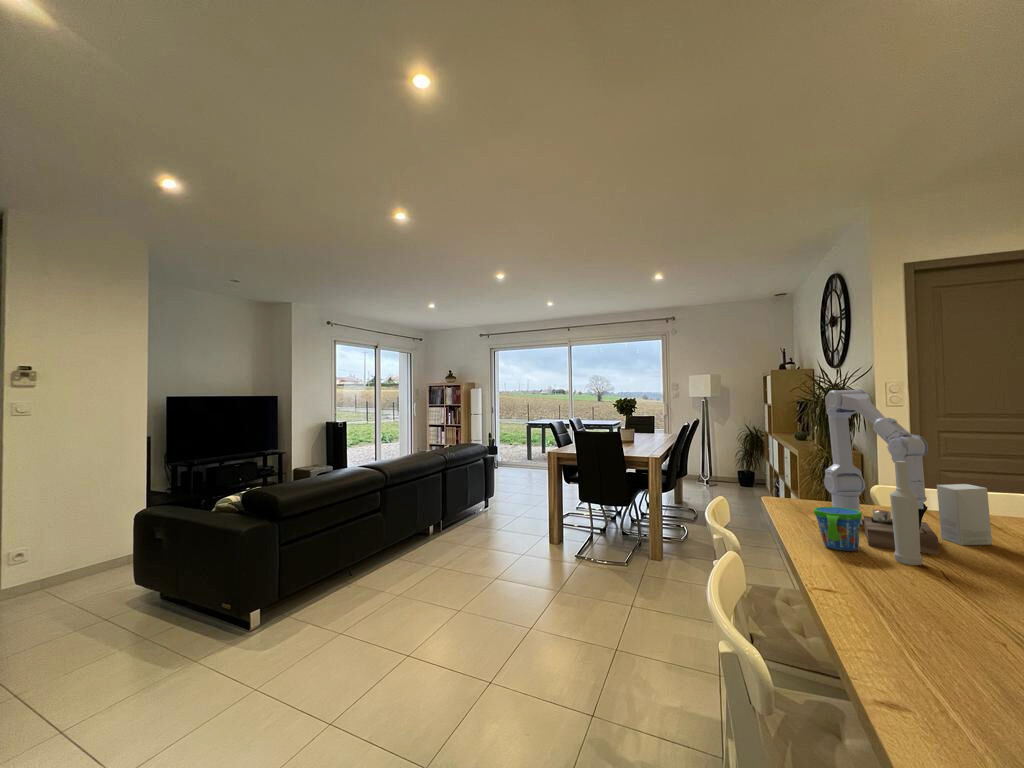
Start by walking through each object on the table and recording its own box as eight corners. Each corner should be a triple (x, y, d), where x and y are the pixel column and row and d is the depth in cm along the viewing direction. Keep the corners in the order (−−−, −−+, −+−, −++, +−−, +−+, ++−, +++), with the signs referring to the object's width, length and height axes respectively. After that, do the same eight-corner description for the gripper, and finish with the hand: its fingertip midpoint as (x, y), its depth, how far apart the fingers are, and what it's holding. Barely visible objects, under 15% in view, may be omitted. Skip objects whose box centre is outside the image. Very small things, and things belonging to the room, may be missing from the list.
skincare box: (971, 538, 121) (966, 483, 121) (995, 546, 114) (990, 488, 115) (939, 538, 121) (934, 483, 122) (961, 546, 115) (956, 488, 116)
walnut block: (864, 530, 130) (863, 515, 130) (927, 538, 122) (926, 522, 122) (868, 545, 117) (867, 529, 117) (939, 555, 109) (937, 537, 109)
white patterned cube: (873, 523, 127) (872, 508, 127) (890, 525, 124) (889, 510, 124) (874, 527, 123) (873, 511, 124) (892, 529, 121) (891, 513, 121)
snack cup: (828, 538, 125) (824, 503, 126) (873, 545, 116) (869, 508, 117) (808, 549, 115) (804, 511, 116) (855, 558, 107) (851, 517, 108)
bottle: (928, 566, 102) (920, 463, 103) (903, 565, 103) (896, 463, 104) (913, 558, 107) (905, 460, 108) (889, 557, 108) (882, 460, 109)
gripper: (885, 474, 124) (888, 521, 124) (896, 483, 112) (900, 534, 112) (917, 476, 121) (921, 524, 120) (932, 485, 108) (937, 538, 108)
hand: (913, 529), depth 115 cm, fingers closed, pressing on maple dowel
